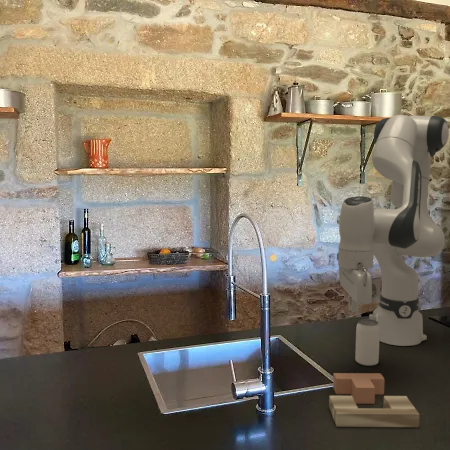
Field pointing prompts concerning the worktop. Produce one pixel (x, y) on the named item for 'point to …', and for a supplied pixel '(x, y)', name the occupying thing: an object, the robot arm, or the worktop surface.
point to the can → (367, 342)
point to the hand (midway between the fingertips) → (354, 311)
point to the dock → (374, 413)
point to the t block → (359, 386)
